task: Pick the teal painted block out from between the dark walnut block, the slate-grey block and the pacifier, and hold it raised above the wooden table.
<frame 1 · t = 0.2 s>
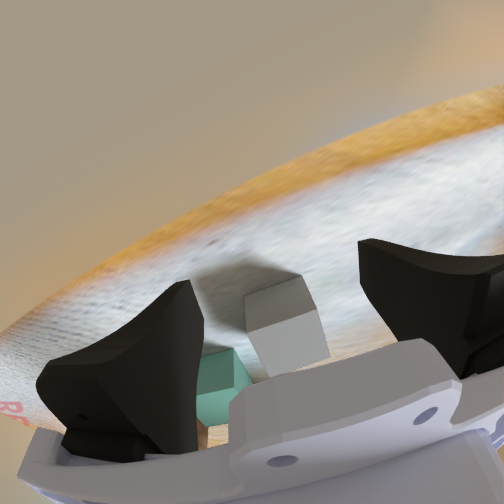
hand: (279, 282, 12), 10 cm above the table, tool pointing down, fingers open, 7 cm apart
teal block: (220, 370, 27), on the table
slate block: (281, 308, 24), on the table
walnut block: (181, 414, 29), on the table
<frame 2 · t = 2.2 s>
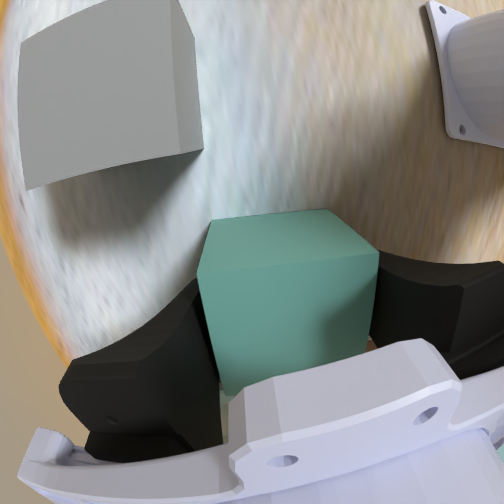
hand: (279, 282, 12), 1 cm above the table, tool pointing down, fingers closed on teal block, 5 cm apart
teal block: (274, 267, 13), on the table, touching gripper
pacifier: (214, 398, 17), on the table
slate block: (140, 101, 10), on the table
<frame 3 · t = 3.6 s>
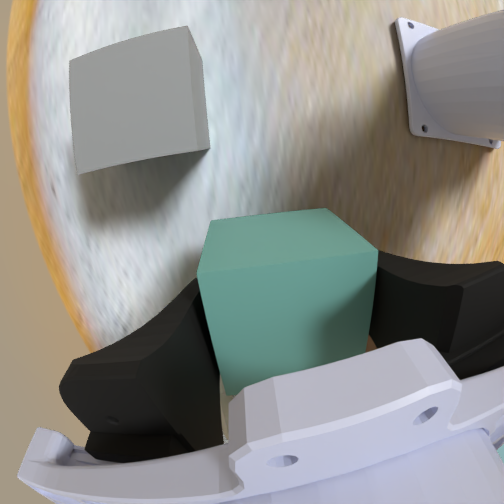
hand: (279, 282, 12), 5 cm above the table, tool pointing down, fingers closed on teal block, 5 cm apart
teal block: (274, 266, 13), point 3 cm above the table, touching gripper
pacifier: (211, 364, 20), on the table
slate block: (159, 110, 13), on the table
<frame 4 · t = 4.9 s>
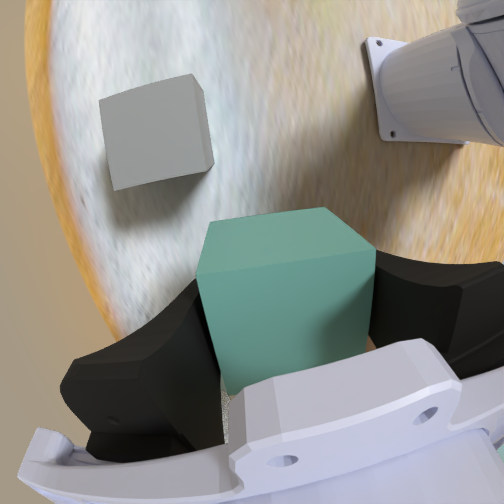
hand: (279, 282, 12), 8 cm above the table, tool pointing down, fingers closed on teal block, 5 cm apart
teal block: (274, 266, 13), point 7 cm above the table, touching gripper
slate block: (171, 134, 17), on the table
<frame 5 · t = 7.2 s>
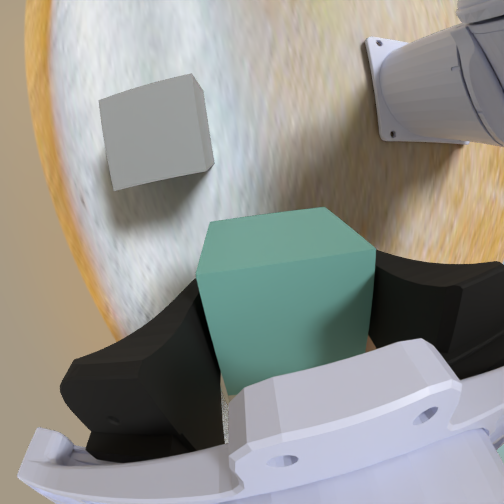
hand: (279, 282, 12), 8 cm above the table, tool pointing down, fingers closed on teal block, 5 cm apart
teal block: (274, 266, 13), point 7 cm above the table, touching gripper
slate block: (171, 134, 17), on the table
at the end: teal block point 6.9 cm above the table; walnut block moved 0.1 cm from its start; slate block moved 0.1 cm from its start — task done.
